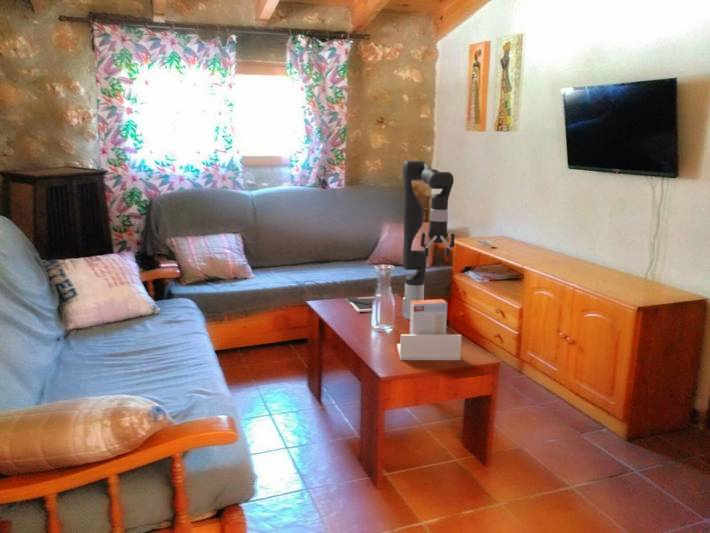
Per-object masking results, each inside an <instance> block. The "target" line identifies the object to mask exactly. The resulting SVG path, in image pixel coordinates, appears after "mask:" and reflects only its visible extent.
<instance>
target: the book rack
mask: <svg viewBox="0 0 710 533" xmlns="http://www.w3.org/2000/svg"><path fill="white" fill-rule="evenodd" d="M396 348H397V352H398V356H399V360H400V361H461V351H462V350H461V348H462V335H461V334H446V335H441V334H410V333H408V334H407V333H405V334H404V333H403V334H400V343H396Z"/></svg>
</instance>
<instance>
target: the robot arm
mask: <svg viewBox="0 0 710 533" xmlns="http://www.w3.org/2000/svg"><path fill="white" fill-rule="evenodd" d="M401 171H402V185H403V250H402V265H403V266H402V267H403V268H404V270H406V271H412V270H413V271H414V272H413V273H411V274H409V275H407V276H405V279H404V297H403V298H402V305H401V306H402V308H401V309H402V311H401V312H402V313H401V317H403V319H406V320H409V321H410V305H411V300H425V299H424V298H425V281H426V280H425V279H426V271H427V261H428V260H427V258H428V257H429V248H430V246H431V245H432V244H433V243H434V244H444V245H445V258H448V257H449V256H450V252H451V251H450V250H451V248H454V247H455V233H454V232H450V233H449V232H448V221H449V220H448V219H449V217H448V216H449V212H448V211H449V210H448V209H449V208H448V207H449V197H450V193H451V191H452V189H453V185H454V182H455V181H454V176H453V174H452V172H450V171H439V170H437V169H434V168H432V167H431V166H430V165H429V164H427V162H425V161H423V160H405V161H403V164H402V170H401ZM412 181H422V182H423V183H424V184H426V185H428V188H430V189H431V190H432V189H433V190H441V191H440V192H439V193H437V194H433V195H431V202H430V213H429V226H428V228H429V229H428V230H429V231H428V232H421V238H420V244H419V245H420V246H421V248H424V250H422V249H421V250H419V249H417V250H414V249H413V250H412V245H413V242H414V239H415V238H416V236H417V234H418V233H419V231H420V230H421V228H422V227H423V223H424V207H423V205H422V203H421V202H420V200H419V198H418V197H417V195H416V193H415V192H414V188H413V184H412ZM427 237H428V238H429V239H427V241H426V243H425V239H426V238H427ZM447 238H449V239H450V244H449V243H448V241H447V240H446V239H447Z"/></svg>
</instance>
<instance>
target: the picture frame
mask: <svg viewBox="0 0 710 533" xmlns="http://www.w3.org/2000/svg"><path fill="white" fill-rule="evenodd" d="M374 297H375V296H368V297H367V296H364V297H355V296H351V297H349V296H348V297H345V301H346V300H347V301H348V302H349V303H350V304H351V305H352V306H353V307H354V309H355V310H356V311H357V312H360V311H371V310H372V301H373V300H372V299H373V298H374ZM366 299H371V300H366ZM354 309H353V310H354ZM355 310H354V311H355Z"/></svg>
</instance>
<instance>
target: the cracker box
mask: <svg viewBox="0 0 710 533" xmlns="http://www.w3.org/2000/svg"><path fill="white" fill-rule="evenodd" d="M447 316H448V302H447V301H446V300H445V299H443V298H442V299H441V298H438V299H424V300H411V305H410V320H409V334H441V335H447V322H448V321H447V318H448V317H447Z"/></svg>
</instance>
